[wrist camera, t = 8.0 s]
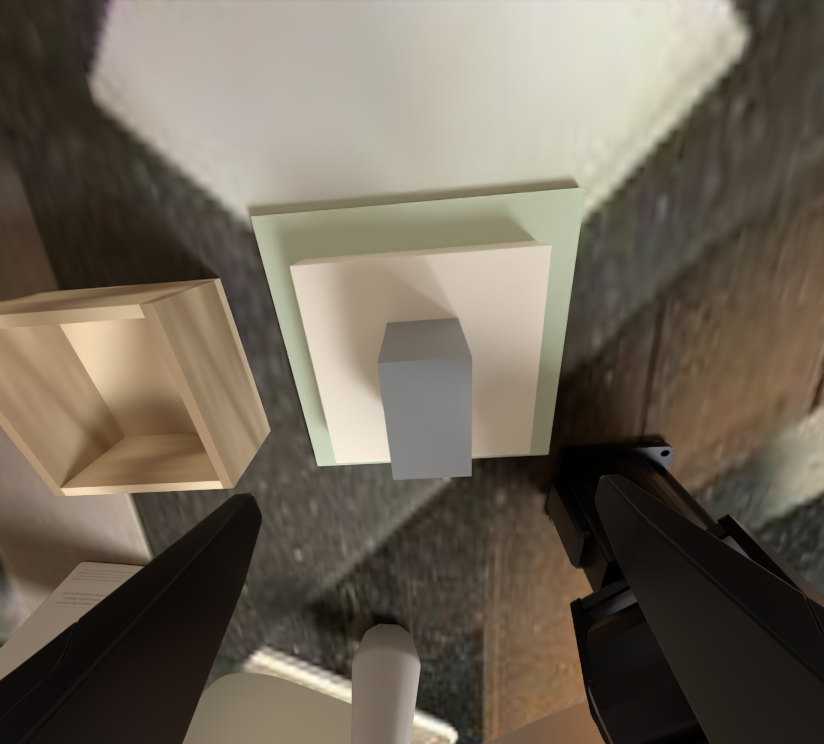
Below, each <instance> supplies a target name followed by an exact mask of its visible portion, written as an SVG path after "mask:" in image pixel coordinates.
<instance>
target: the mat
mask: <svg viewBox="0 0 824 744" xmlns="http://www.w3.org/2000/svg"><path fill="white" fill-rule="evenodd" d="M585 189H586V187H581V188H569V189H558V190H546V191H535V192H524V193H512V194H501V195H489V196H478V197H467V198H455V199H444V200H432V201H421V202H410V203H398V204H387V205H375V206H364V207H353V208H341V209H330V210H318V211H307V212H296V213H284V214H273V215H261V216H250V217H251V221H252V224H253V228H254V232H255V235H256V239H257V243H258V246H259V250H260V254H261V257H262V261H263V265H264V269H265V272H266V276H267V280H268V283H269V287H270V291H271V294H272V298H273V302H274V305H275V309H276V313H277V317H278V320H279V324H280V328H281V331H282V335H283V339H284V342H285V346H286V350H287V353H288V357H289V361H290V365H291V368H292V372H293V376H294V379H295V383H296V387H297V390H298V394H299V398H300V401H301V405H302V409H303V413H304V416H305V420H306V424H307V427H308V431H309V435H310V438H311V442H312V446H313V449H314V453H315V457H316V461H317V464H318V466H330V465H350V464H370V463H390V462H391V461H375V462H355V463H336V460H335V456H334V451H333V447H332V443H331V439H330V435H329V430H328V426H327V422H326V418H325V414H324V409H323V405H322V401H321V397H320V392H319V388H318V384H317V380H316V376H315V371H314V367H313V363H312V359H311V355H310V350H309V346H308V342H307V338H306V334H305V329H304V325H303V321H302V317H301V312H300V308H299V304H298V300H297V296H296V291H295V287H294V283H293V279H292V275H291V270H290V266H291V265H293V264H295V263H297V262H299V261H301V260H303V259H309V258H321V257H333V256H346V255H358V254H370V253H383V252H395V251H407V250H419V249H432V248H444V247H456V246H469V245H481V244H493V243H506V242H518V241H530V240H537V241H540V242H543V243H546V244H550V245H552V250H551V259H550V268H549V278H548V287H547V297H546V306H545V315H544V325H543V334H542V344H541V353H540V362H539V372H538V381H537V391H536V400H535V409H534V419H533V428H532V437H531V447H530V454H513V455H494V456H474V457H472V458H491V457H511V456H531V455H548V454H549V447H550V439H551V432H552V425H553V418H554V411H555V404H556V397H557V389H558V382H559V375H560V368H561V361H562V354H563V347H564V339H565V332H566V325H567V318H568V311H569V304H570V297H571V289H572V282H573V275H574V268H575V261H576V254H577V247H578V239H579V232H580V225H581V218H582V211H583V204H584V197H585Z"/></svg>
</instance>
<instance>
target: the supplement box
mask: <svg viewBox="0 0 824 744" xmlns="http://www.w3.org/2000/svg"><path fill="white" fill-rule="evenodd" d="M143 567H144V566H135V565H124V564H110V563H98V562H82V563H80V564H79V565H78V566H77V567H76V568H75V569H74V570H73V571H72V572H71V573H70V574H69V575H68V576H67V577H66V579H65V580H64V581H63V582H62V583H61V584H60V585H59V586H58V587H57V588H56V589H55V590H54V591H53V592H52V594H51V595H50V596H49V597H48V598H47V599H46V600H45V601H44V602H43V603H42V604H41V605H40V606H39V607H38V609H37V610H36V611H35V612H34V613H33V614H32V615H31V616H30V617H29V618H28V619H27V620H26V622H25V623H24V624H23V625H22V626H21V627H20V628H19V629H18V630H17V631H16V632H15V633H14V634H13V636H12V637H11V638H10V639H9V640H8V641H7V642H6V643H5V644H4V645H3V646H2V647H1V648H0V680H1V679H2V678H3V677H5V676H6V675H8V674H9V673H10V672H12V671H13V670H14V669H16V668H17V667H18V666H19V665H21V664H22V663H23V662H25V661H26V660H27V659H28V658H30V657H31V656H32V655H33V654H35V653H36V652H37V651H39V650H40V649H41V648H42V647H44V646H45V645H46V644H48V643H49V642H50V641H51V640H53V639H54V638H55V637H56V636H58V635H59V634H60V633H61V632H63V631H64V630H65V629H66V628H68V627H69V626H70V625H71V624H73V623H74V622H78V620H79V618H80V617H82V616H83V615H84V614H85V613H87V612H88V611H89V610H90V609H92V608H93V607H94V606H95V605H97V604H98V603H99V602H100V601H102V600H103V599H104V598H105V597H107V596H108V595H109V594H110V593H112V592H113V591H114V590H115V589H117V588H118V587H119V586H120V585H122V584H123V583H124V582H125V581H127V580H128V579H129V578H130V577H132V576H133V575H134V574H135V573H137V572H138V571H139V570H140V569H142V568H143Z"/></svg>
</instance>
